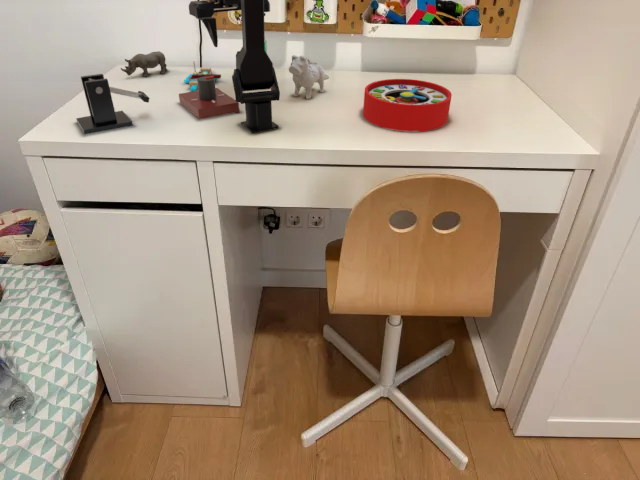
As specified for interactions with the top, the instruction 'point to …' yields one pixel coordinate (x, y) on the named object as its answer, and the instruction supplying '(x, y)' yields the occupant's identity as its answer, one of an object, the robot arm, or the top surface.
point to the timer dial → (206, 88)
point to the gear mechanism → (195, 76)
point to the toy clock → (406, 105)
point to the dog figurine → (306, 74)
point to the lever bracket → (100, 107)
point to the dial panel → (209, 104)
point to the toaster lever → (128, 93)
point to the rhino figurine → (146, 63)
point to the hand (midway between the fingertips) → (233, 44)
